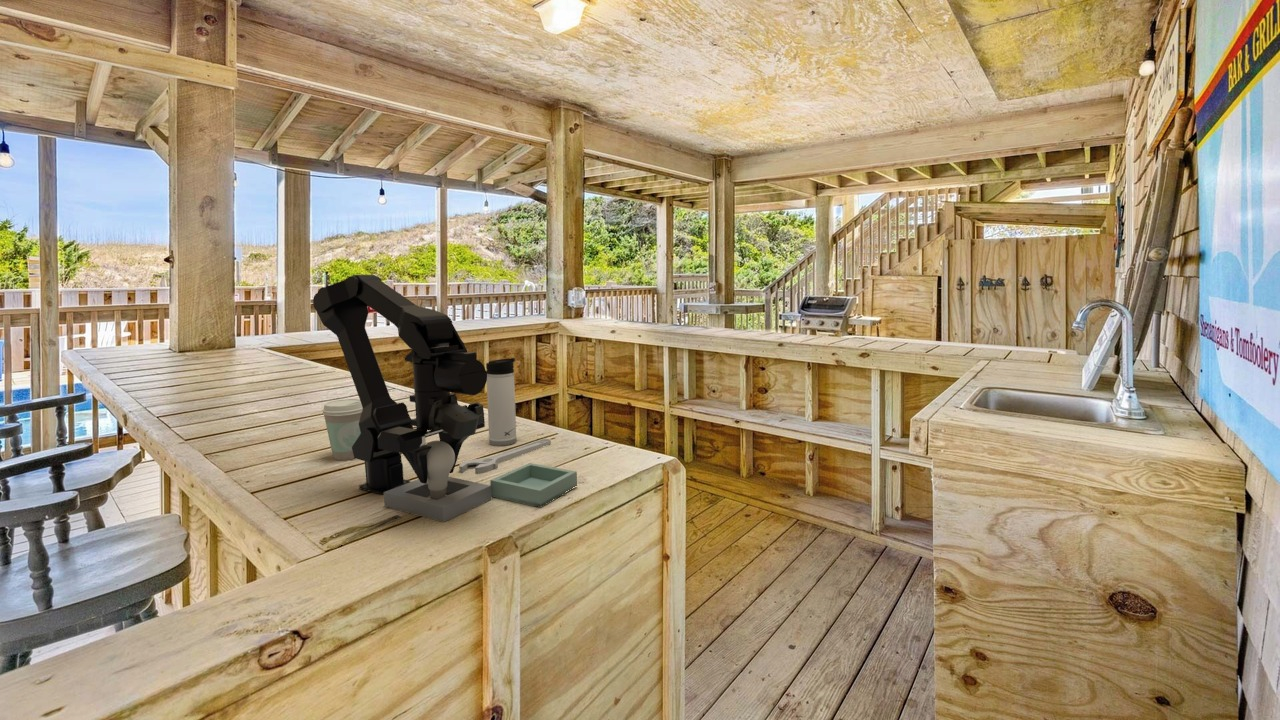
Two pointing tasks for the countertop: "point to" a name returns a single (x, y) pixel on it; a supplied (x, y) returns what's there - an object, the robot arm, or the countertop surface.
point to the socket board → (443, 509)
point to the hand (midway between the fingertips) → (437, 477)
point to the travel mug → (501, 402)
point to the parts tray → (533, 484)
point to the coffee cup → (343, 426)
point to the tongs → (360, 528)
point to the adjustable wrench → (500, 457)
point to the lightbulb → (439, 468)
